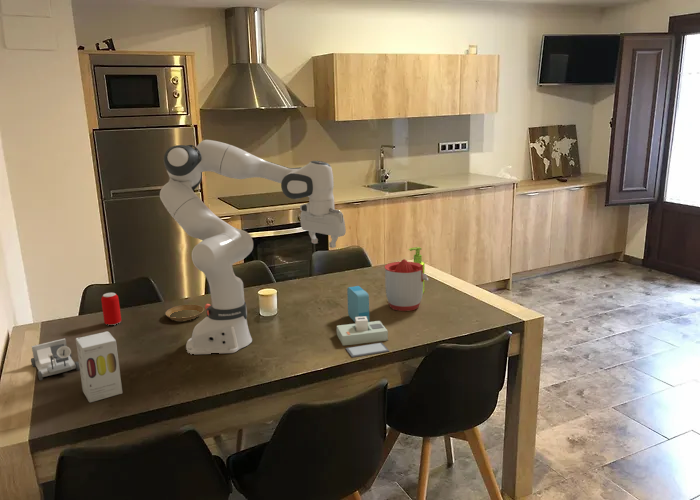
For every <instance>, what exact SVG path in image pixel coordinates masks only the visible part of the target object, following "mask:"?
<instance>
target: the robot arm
mask: <svg viewBox="0 0 700 500" xmlns="http://www.w3.org/2000/svg"><path fill="white" fill-rule="evenodd" d="M163 165H164V168H165V170H166V173H167V175H168V178H169V179H168V182H166V183H165V184H164V185H163V186H162V187H161V189H160V191H159V198H160V201H161V202H162V204H163V206H164V208H165V209H166V210H167V212H168V213H169V214H170V216H171V217H172V218H173V220H174V221H175V222H176V223H177V224H178V225H179V226H180V227H181V229H182V230H183V231H184V232H185V233H186V234H187V235H188V236H190V238H191V237H192V238H195V239H198V240H201V241H200V242H198V243H197V244H196V245H194V247H193V248H192V250H191V261H192V263H193V265H194V266H195V268H196V269H198V271H200V272H202V273H203V275H204V276H205V278H206V280H207V282H208V285H209V291H210V299H211V304H210V303H206V304H205V305H204V310H205V311H206V312H205V313H206V316H205V317H204V318H203V319H202V320H201V321H199V322H198V323H197V324H196V325H194V328H193V329H192V333H191V337H190V338H189V339H188V340H187V341H186V344H185V350H187V351H186V352H187V354H189V353H190V354H189V355H192V354H194V355H211V353H219V354H234V353H236V352H237V351H239V350H242V349H243V348H245V347H247V346H249V345H250V344H251V343H252V342H253V338H252V336H251V333H250V329H249V326H248V320H247V317H248V310H247V303H246V302H245V292H244V291H245V289H244V282H243V280H242V278H240V277H238V276H236V274H235V272H234V269H233V265H234V264H236V263H238V262H240V261H243V260H244V259H245V258H247V257H249V255H250V254H251V253H252V251H253V249H254V240H253V238H252V236H251V235H250V234H249V232H248V231H246V230H243V229H239V228H237V227H234V226H232V225H231V224H229V223H228V222H226V221H225V220H223V219H222V218H221V217H219V216H217V215H216V214H215V213H214V212H213V211H212V210H211V209H210V208H209V207H208V206H207V205H206V203H205V202H203V201H202V199H201V198H200V197H199V196H198V195H197V193H195V192H194V191H195V190H196V189H197V188H198V187H199V185H200V184H201V182H202V181H203V172H213V173H216V174H218V175H221V176H222V177H226V178H230V179H235V180H245V179H251V178H253V179H254V178H260V179H261V178H262V179H266V180H268V181H272V182H274V183H275V182H276V183H277V184H280V185H281V192H282V193H283V194H284V196H285V197H287V198H288V199H292V200H299V199H302V198H307V197H308V202H307V203H303V204H301V205H300V206H299V210H300V211H301V212H300V217H299V218H300V227H301V229H302V231H307V232H308V235H309V237H310V239H311V243H312V244H319V242H318V241H319V239H318V238H317V236H316V233H317V234H320V235H321V234H322V235H328V236H330V238H331V241H329V243H328V245H329V248H332V249H334V248H336V246H337V243H336V242H337V241H338V239H339V237H343V236H345V235H346V232H347V231H346V222H345V218H344V214H343V212H342V211H341V210H340V209H336V208H335V196H334V187H335V186H334V183H335V182H334V172H333V168H332V165H330V163H327V162H325V161H322V160H311V161H309V162H308V163H307V164H305V165H304V166H301V167H286V166H285V165H280V164H277V163H275V162H272V161H268V160H265V159H262V158H261V157H259V156H256V155H254V154H252V153H250V152H248V151H246V150H244V149H242V148H240V147H237V146H235V145H232V144H229V143H225V142H221V141H217V140H212V139H204V140H201V141H200V142H199V143H198V144H197V146H195V145H193V144H188V145H183V144H178V145H176V144H175V145H173V146H171V147H169V148H168V149H167V150H166V151H165V153H164V155H163Z"/></svg>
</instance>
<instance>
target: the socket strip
mask: <svg viewBox="0 0 700 500" xmlns="http://www.w3.org/2000/svg"><path fill="white" fill-rule="evenodd" d="M336 336H337V338H338V339H339V341H340V343H341V345H342V346H352V345H361V344H368V343H369V344H370V343H379V342H385V341H389V340H388V339H389V337H388V336H389V331H388V329H387V328H386V327H385V325H383V323H382V321H381V320H375V321H369V322H368V331H361V332H356V331H355V323H349V324H341V325H340V324H339V325H336Z"/></svg>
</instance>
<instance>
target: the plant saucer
mask: <svg viewBox="0 0 700 500" xmlns="http://www.w3.org/2000/svg"><path fill="white" fill-rule="evenodd" d="M182 310H197V311H199V312H200V313H199V314H197V315H194V316H190V317H182V318H176V317H170V315H171V314H172V313H174V312H178V311H182ZM204 311H205V307H203V306H202V305H199V304H181V305H176V306H173V307H171V308H169V309H167V310H166V311H165V313H164V314H165V315H166V317H168V318H169V319H170V320H171V321H173V320H177V321H176V322H184V321H183V320H190V319H193V320H195V319H194V318H196V317H198V316H199V317H200V316H201V315H202V313H203V312H204ZM199 317H198V318H199ZM196 319H197V318H196ZM190 321H191V320H190Z"/></svg>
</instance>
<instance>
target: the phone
mask: <svg viewBox="0 0 700 500" xmlns="http://www.w3.org/2000/svg"><path fill="white" fill-rule="evenodd" d="M345 350H346V352H347V353H348V354H349V356H350V357H351V358H352V359H354V358H359V357H365V356H370V355H375V354H376V355H377V354H383V353H389V352H390V350H389V349H388V347H387V346H385V344H384V343H383V341H380V342H374V343H371V344H370V343H369V344H363V345H356V346H350V347H345Z"/></svg>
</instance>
